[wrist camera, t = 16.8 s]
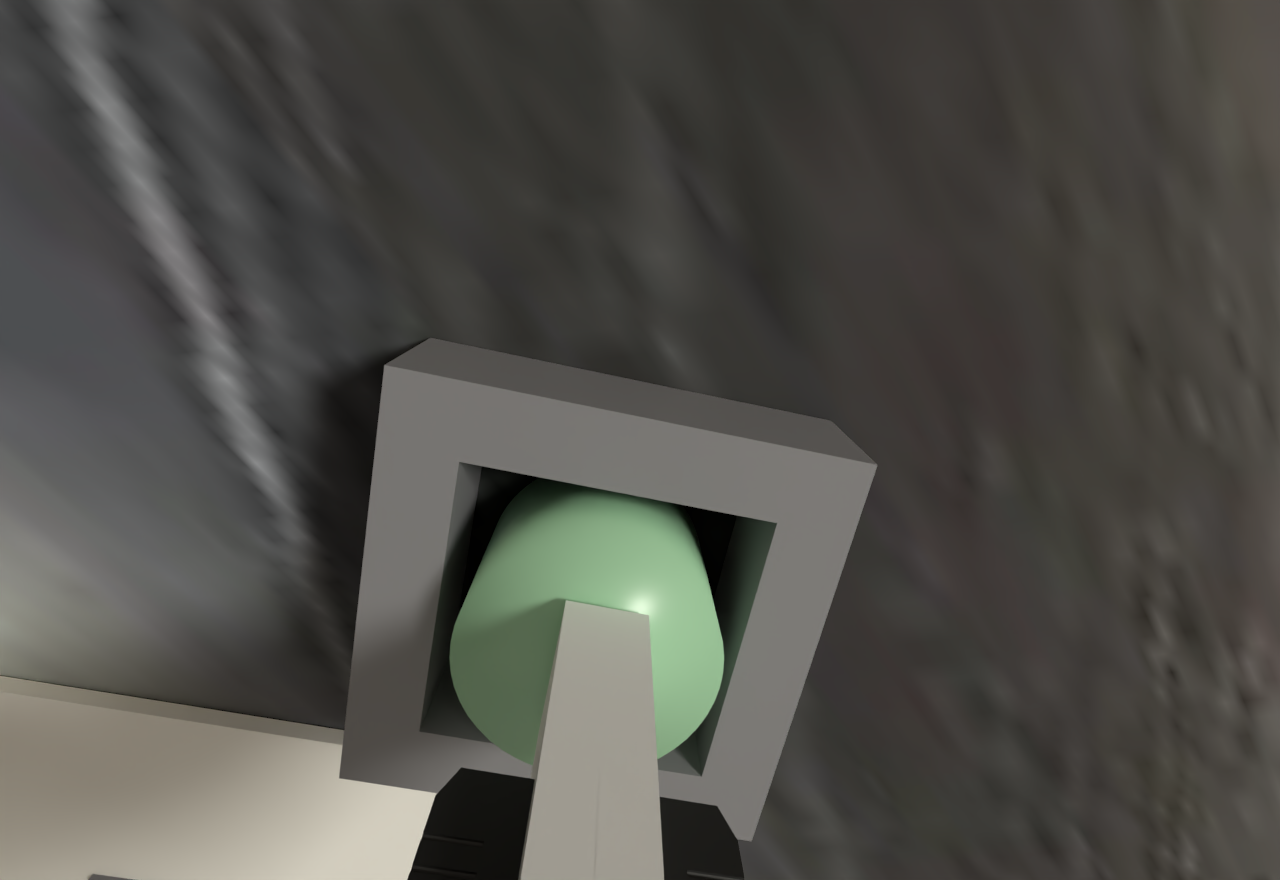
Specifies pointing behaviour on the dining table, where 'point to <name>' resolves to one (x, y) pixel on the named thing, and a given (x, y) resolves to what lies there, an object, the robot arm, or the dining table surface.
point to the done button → (591, 574)
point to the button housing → (610, 460)
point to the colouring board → (186, 795)
